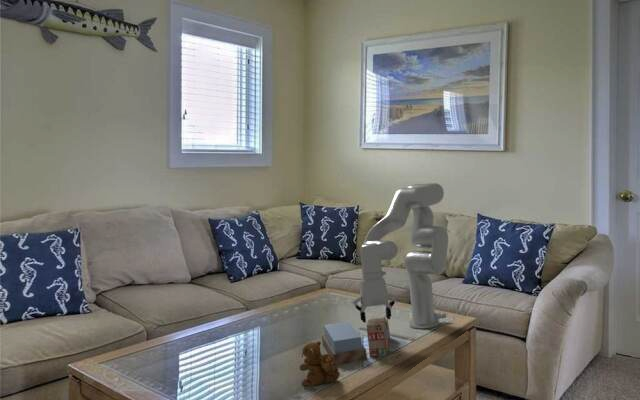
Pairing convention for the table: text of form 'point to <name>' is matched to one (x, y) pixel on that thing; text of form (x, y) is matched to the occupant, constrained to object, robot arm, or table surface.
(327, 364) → the stuffed squirrel
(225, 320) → the table surface
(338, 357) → the walnut tower block
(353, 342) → the slate-blue tower block
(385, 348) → the stack of blocks
